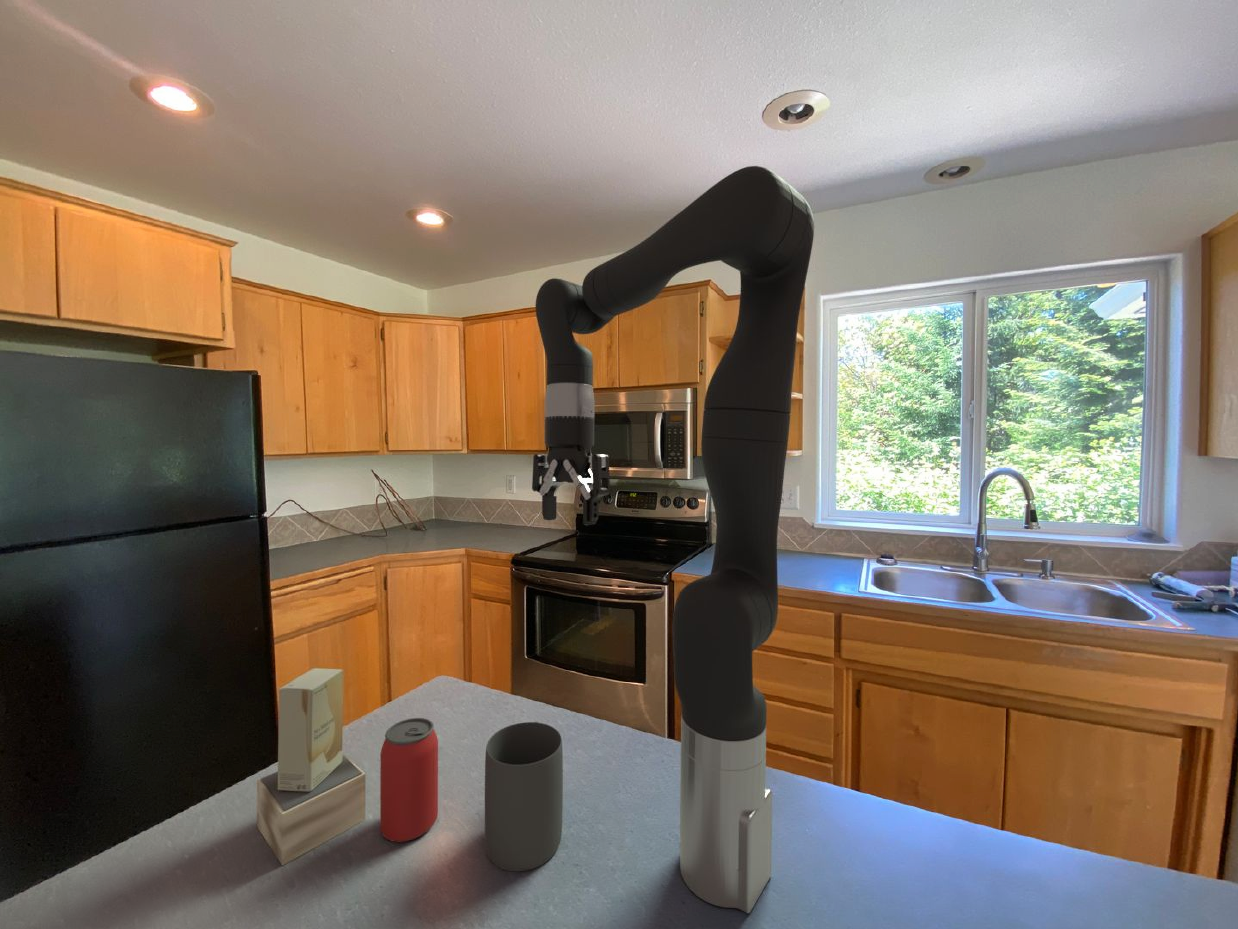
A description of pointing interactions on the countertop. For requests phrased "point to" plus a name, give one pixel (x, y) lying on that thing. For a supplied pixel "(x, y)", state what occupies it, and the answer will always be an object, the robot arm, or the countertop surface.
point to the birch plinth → (310, 810)
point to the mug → (523, 795)
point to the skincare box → (310, 729)
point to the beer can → (408, 780)
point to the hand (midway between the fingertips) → (569, 522)
